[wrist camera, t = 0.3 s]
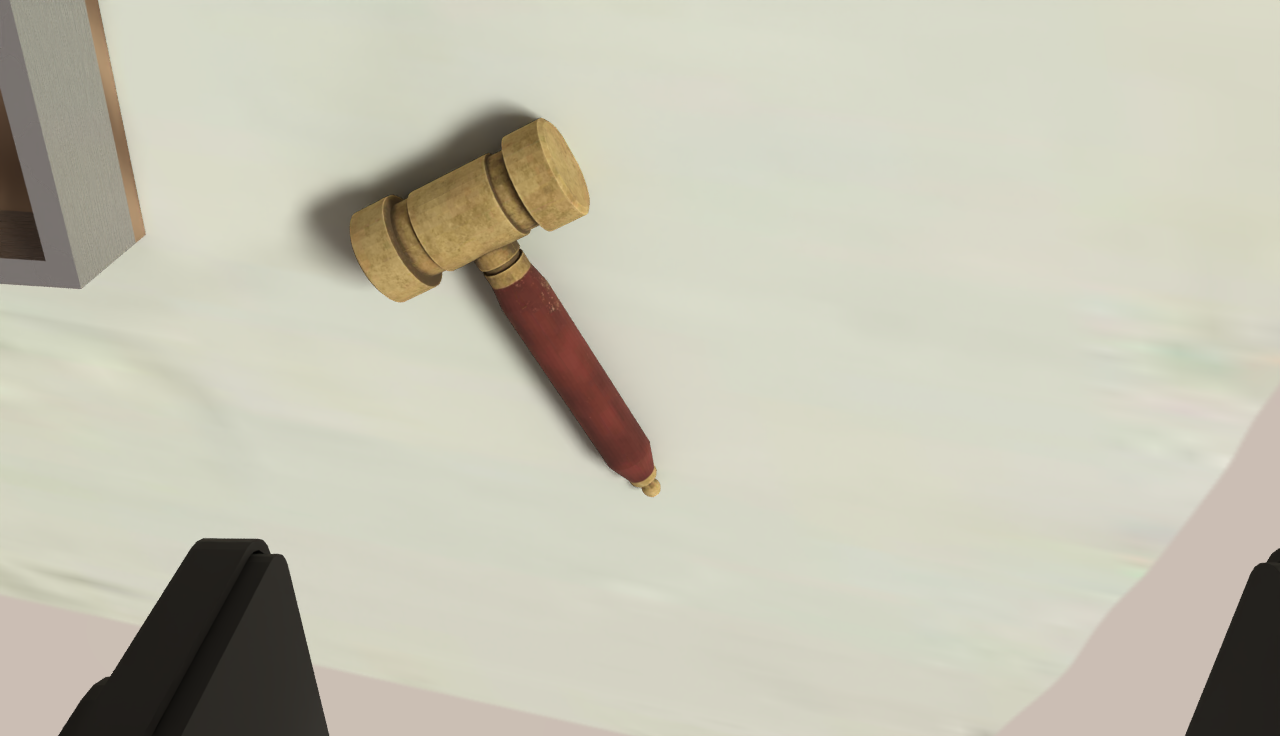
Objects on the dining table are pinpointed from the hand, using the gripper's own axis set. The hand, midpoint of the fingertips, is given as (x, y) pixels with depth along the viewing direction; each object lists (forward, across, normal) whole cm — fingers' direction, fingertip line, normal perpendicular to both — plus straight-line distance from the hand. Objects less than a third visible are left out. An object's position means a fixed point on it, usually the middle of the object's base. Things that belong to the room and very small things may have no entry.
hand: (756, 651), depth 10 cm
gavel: (+37, +6, +16) cm, 41 cm away
